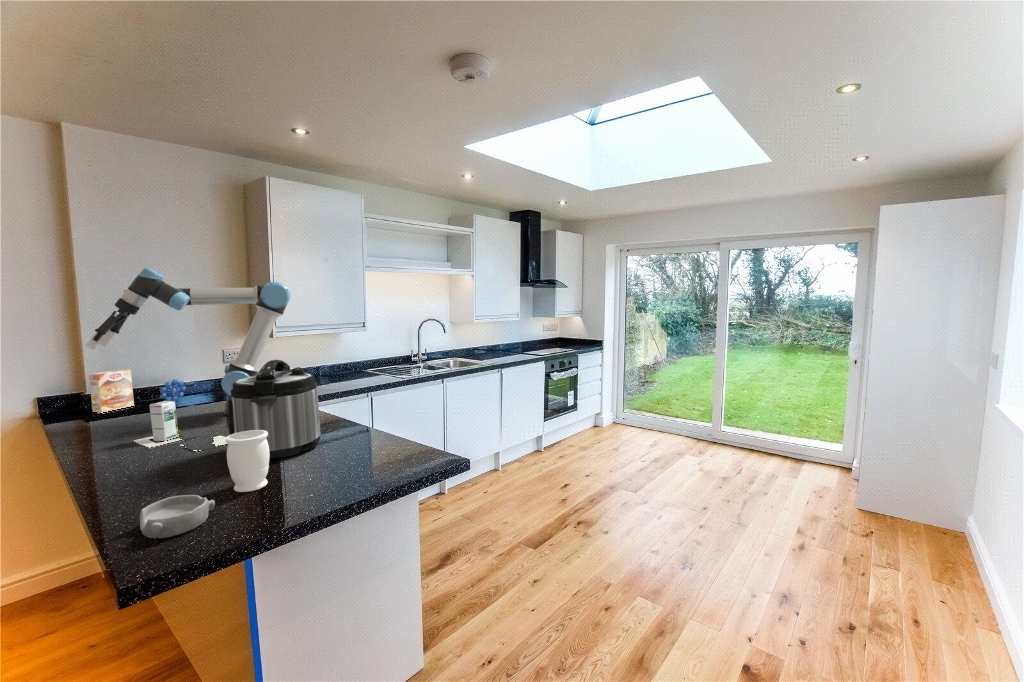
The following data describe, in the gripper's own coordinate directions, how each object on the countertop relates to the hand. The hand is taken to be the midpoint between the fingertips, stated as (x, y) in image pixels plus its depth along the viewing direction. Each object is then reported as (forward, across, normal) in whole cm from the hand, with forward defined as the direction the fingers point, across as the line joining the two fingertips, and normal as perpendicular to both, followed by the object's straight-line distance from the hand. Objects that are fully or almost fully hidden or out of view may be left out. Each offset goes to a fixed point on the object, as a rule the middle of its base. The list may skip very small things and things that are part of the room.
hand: (95, 346), depth 186 cm
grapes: (+22, -63, +32) cm, 74 cm away
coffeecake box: (+35, -56, +13) cm, 67 cm away
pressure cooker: (-7, +60, +72) cm, 94 cm away
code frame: (+15, +22, +41) cm, 49 cm away
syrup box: (+15, +22, +41) cm, 49 cm away
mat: (+6, +39, +53) cm, 66 cm away
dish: (+5, +110, +55) cm, 123 cm away
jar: (-3, +93, +66) cm, 114 cm away
